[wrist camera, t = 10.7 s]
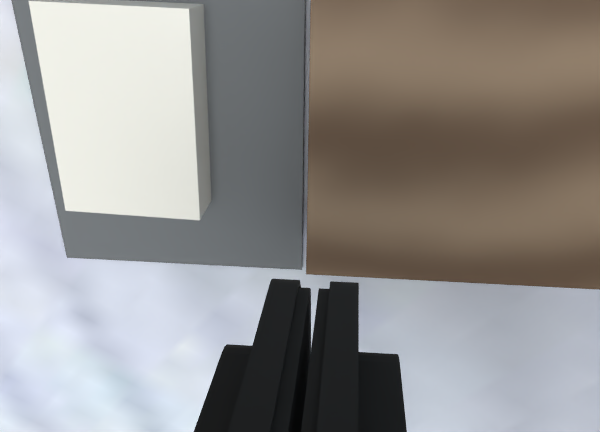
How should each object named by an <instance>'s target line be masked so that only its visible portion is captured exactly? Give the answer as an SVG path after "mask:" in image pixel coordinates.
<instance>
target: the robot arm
mask: <svg viewBox="0 0 600 432" xmlns="http://www.w3.org/2000/svg"><path fill="white" fill-rule="evenodd" d="M358 294H359V285H358V283H351V282H330V289H319V292H318V300H317V308H316V316H315V324H314V332H313V340H312V348H311V289H310V288H301V285H300V280H285V279H271V282H270V285H269V289H268V292H267V296H266V300H265V303H264V307H263V310H262V314H261V317H260V321H259V324H258V328H257V332H256V335H255V339H254V342H253V346H245V345H226V346H225V347H224V349H223V351H222V354H221V357H220V360H219V362H218V365H217V368H216V371H215V374H214V377H213V379H212V382H211V385H210V388H209V391H208V393H207V396H206V399H205V402H204V405H203V408H202V410H201V413H200V416H199V419H198V422H197V424H196V427H195V430H194V432H407V430H406V420H405V411H404V401H403V391H402V381H401V372H400V362H399V356H398V354H382V353H365V352H358Z"/></svg>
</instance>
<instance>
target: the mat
mask: <svg viewBox="0 0 600 432" xmlns="http://www.w3.org/2000/svg"><path fill="white" fill-rule="evenodd" d="M29 1H32V0H12V5H13V10H14V14H15V19H16V23H17V28H18V33H19V37H20V42H21V47H22V51H23V56H24V61H25V65H26V70H27V75H28V79H29V84H30V88H31V93H32V98H33V102H34V107H35V112H36V116H37V121H38V126H39V130H40V135H41V139H42V144H43V149H44V153H45V158H46V163H47V167H48V172H49V177H50V181H51V186H52V190H53V195H54V200H55V204H56V209H57V214H58V218H59V223H60V228H61V232H62V237H63V242H64V246H65V251H66V255H67V258H86V259H106V260H125V261H144V262H164V263H183V264H203V265H222V266H242V267H261V268H280V269H300V270H302V237H303V155H304V73H305V0H129V1H150V2H171V3H191V4H204V28H205V53H206V78H207V103H208V128H209V153H210V178H211V202H210V203H209V205H208V207H207V209H206V210H205V212H204V214H203V216H202V218H201V219H200V220H187V219H173V218H160V217H146V216H132V215H118V214H104V213H90V212H76V211H65V205H64V199H63V194H62V188H61V182H60V177H59V171H58V165H57V160H56V154H55V148H54V143H53V137H52V131H51V126H50V120H49V114H48V109H47V103H46V97H45V92H44V86H43V80H42V75H41V69H40V63H39V58H38V52H37V46H36V41H35V35H34V29H33V24H32V18H31V12H30V7H29Z"/></svg>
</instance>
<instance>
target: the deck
mask: <svg viewBox="0 0 600 432" xmlns="http://www.w3.org/2000/svg"><path fill="white" fill-rule="evenodd" d="M306 274H313V275H332V276H352V277H371V278H390V279H409V280H428V281H448V282H467V283H486V284H505V285H524V286H544V287H563V288H582V289H600V0H311V13H310V74H309V135H308V197H307V258H306Z"/></svg>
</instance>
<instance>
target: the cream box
mask: <svg viewBox="0 0 600 432" xmlns="http://www.w3.org/2000/svg"><path fill="white" fill-rule="evenodd" d="M29 7H30V12H31V18H32V24H33V29H34V35H35V41H36V46H37V52H38V58H39V63H40V69H41V75H42V80H43V86H44V92H45V97H46V103H47V109H48V114H49V120H50V126H51V131H52V137H53V143H54V148H55V154H56V160H57V165H58V171H59V177H60V182H61V188H62V194H63V199H64V205H65V211H76V212H90V213H104V214H118V215H132V216H146V217H160V218H173V219H187V220H200V219H201V218H202V216H203V214H204V212H205V210H206V209H207V207H208V205H209V203H210V202H211V178H210V153H209V128H208V103H207V78H206V53H205V28H204V4H191V3H171V2H150V1H129V0H32V1H29Z"/></svg>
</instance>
